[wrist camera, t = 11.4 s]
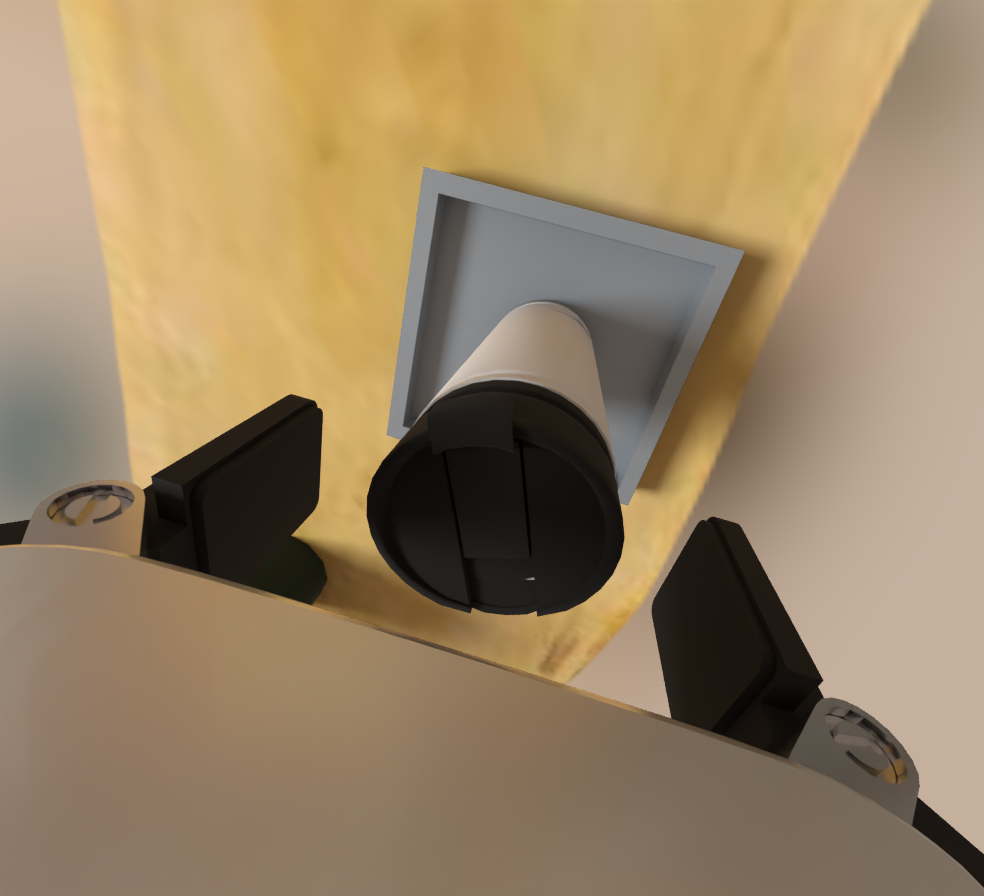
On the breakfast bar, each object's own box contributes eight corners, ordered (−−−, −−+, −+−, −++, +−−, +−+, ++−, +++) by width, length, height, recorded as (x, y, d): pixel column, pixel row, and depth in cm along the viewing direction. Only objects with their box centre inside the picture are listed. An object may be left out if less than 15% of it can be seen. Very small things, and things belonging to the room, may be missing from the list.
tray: (436, 172, 25) (423, 166, 23) (729, 249, 24) (744, 250, 22) (399, 421, 32) (386, 435, 30) (624, 486, 32) (627, 505, 30)
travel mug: (591, 288, 26) (636, 400, 8) (592, 396, 28) (627, 661, 11) (486, 297, 27) (318, 414, 9) (497, 400, 30) (383, 645, 12)
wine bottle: (248, 602, 44) (-252, 1166, 17) (246, 521, 39) (-442, 1122, 13) (323, 625, 44) (-70, 1236, 17) (329, 547, 39) (-198, 1219, 12)
